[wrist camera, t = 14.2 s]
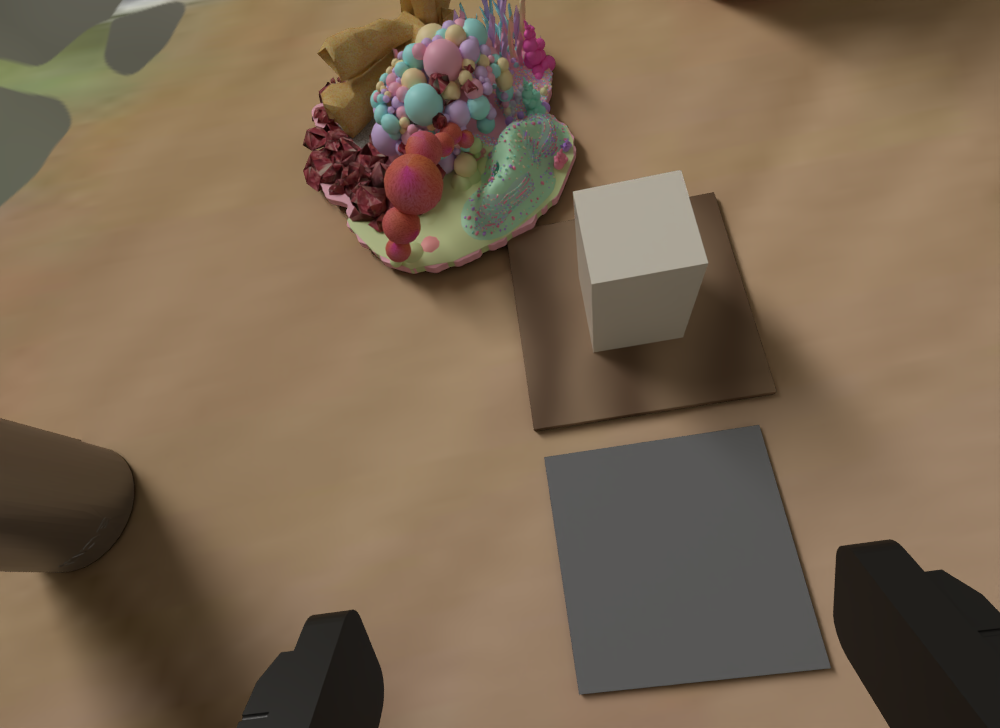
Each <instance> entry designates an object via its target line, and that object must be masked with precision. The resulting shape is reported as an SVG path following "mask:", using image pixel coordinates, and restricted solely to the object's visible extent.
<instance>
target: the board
mask: <svg viewBox="0 0 1000 728" xmlns="http://www.w3.org/2000/svg"><path fill="white" fill-rule="evenodd" d="M689 199H690V202H691V206H692V209H693V213H694V216H695V219H696V223H697V226H698V230H699V233H700V236H701V240H702V243H703V247H704V250H705V254H706V257H707V260H708V265H707V268H706V271H705V274H704V277H703V280H702V283H701V286H700V289H699V292H698V295H697V298H696V301H695V304H694V306H693V309H692V312H691V315H690V318H689V321H688V324H687V327H686V330H685V333H684V336H683V338H677V339H671V340H665V341H659V342H653V343H647V344H641V345H635V346H629V347H623V348H617V349H611V350H605V351H599V352H594V353H593V348H592V343H591V337H590V332H589V327H588V322H587V317H586V311H585V306H584V301H583V296H582V291H581V285H580V280H579V273H578V258H577V244H576V229H575V219H574V220H569V221H563V222H558V223H553V224H548V225H543V226H538V227H533V228H532V229H530V230H528V231H526V232H524V233H522V234H519V235H518V236H516V237H514V238H511V239H510V240H509V241H508V242H507V244H508V251H509V258H510V265H511V272H512V279H513V286H514V293H515V300H516V307H517V314H518V321H519V328H520V335H521V342H522V349H523V356H524V363H525V370H526V377H527V384H528V391H529V398H530V405H531V412H532V419H533V426H534V431H541V430H547V429H554V428H560V427H567V426H573V425H579V424H586V423H592V422H599V421H605V420H612V419H618V418H624V417H631V416H637V415H644V414H650V413H656V412H663V411H669V410H676V409H682V408H689V407H695V406H701V405H708V404H714V403H721V402H727V401H734V400H740V399H746V398H753V397H759V396H766V395H772V394H775V393H776V388H775V385H774V382H773V378H772V375H771V372H770V369H769V366H768V363H767V359H766V356H765V353H764V350H763V347H762V343H761V340H760V337H759V334H758V331H757V327H756V324H755V321H754V318H753V315H752V312H751V308H750V305H749V302H748V299H747V296H746V292H745V289H744V286H743V283H742V280H741V277H740V273H739V270H738V267H737V264H736V261H735V257H734V254H733V251H732V248H731V245H730V242H729V238H728V235H727V232H726V229H725V226H724V222H723V219H722V216H721V213H720V210H719V207H718V203H717V200H716V197H715V194H714V192H712V193H707V194H702V195H697V196H692V197H689Z"/></svg>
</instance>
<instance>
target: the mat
mask: <svg viewBox="0 0 1000 728" xmlns="http://www.w3.org/2000/svg"><path fill="white" fill-rule="evenodd" d="M544 459H545V466H546V472H547V479H548V486H549V493H550V500H551V506H552V513H553V520H554V527H555V534H556V540H557V547H558V554H559V561H560V568H561V574H562V581H563V588H564V595H565V602H566V608H567V615H568V622H569V629H570V636H571V642H572V649H573V656H574V663H575V670H576V676H577V683H578V690H579V694H588V693H598V692H607V691H617V690H627V689H636V688H646V687H655V686H665V685H674V684H684V683H693V682H703V681H712V680H722V679H732V678H741V677H751V676H760V675H770V674H779V673H789V672H798V671H808V670H817V669H827V668H831V667H830V663H829V660H828V656H827V653H826V650H825V646H824V643H823V640H822V636H821V633H820V629H819V626H818V623H817V619H816V616H815V612H814V609H813V606H812V602H811V599H810V595H809V592H808V589H807V585H806V582H805V579H804V575H803V572H802V568H801V565H800V562H799V558H798V555H797V551H796V548H795V545H794V541H793V538H792V535H791V531H790V528H789V524H788V521H787V518H786V514H785V511H784V507H783V504H782V501H781V497H780V494H779V490H778V487H777V484H776V480H775V477H774V474H773V470H772V467H771V463H770V460H769V457H768V453H767V450H766V446H765V443H764V440H763V436H762V433H761V430H760V426H759V425H755V426H749V427H742V428H735V429H729V430H722V431H716V432H709V433H702V434H696V435H689V436H682V437H676V438H669V439H662V440H656V441H649V442H642V443H636V444H629V445H623V446H616V447H609V448H603V449H596V450H589V451H583V452H576V453H569V454H563V455H556V456H549V457H544Z"/></svg>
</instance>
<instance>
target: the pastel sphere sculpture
mask: <svg viewBox="0 0 1000 728" xmlns="http://www.w3.org/2000/svg"><path fill="white" fill-rule="evenodd" d="M492 1H493V0H489V7H490V12H489V8H488V4H487V0H482V3H483V5H484V11H483V10H482V9H481V8H480V9H481V12H482V14H483V16H484V18H485V19H484V18H483V17H482V18H483V20H484V22H485V24H486V28H485V26H484V25H483V24H482V23H481V22H480V21H479V20H477V14H476V19H473V18H468V19H467V17H466V14H465V12H464V9H463V7H462V5H461V3H460V4H459V6H460V17H459V18H458V15H457V13H456V11H455V9H454V10H450V9H448V8H449V4H450V0H400V4H401V12H402V13H401V15H400V16H399V17H398V18H397V19H394V20H387V19H382V18H380V19H378V20H376V21H374V22H372V23H370V24H368V25H366V26H363V27H359V28H348V29H346V30H343V31H341V32H339V33H337V34H335V35H332V36H330V37H328V38H327V39H326V41H325V42H324V44H323V45H322V47H321V49H320V50H319V52H318V53H317V54H318V55H319V56H320V57H321V58H322V59H323V60H324V61H325V62H326V63H327V64H328V65H329V66H330V67H331V68H332V69H333V70H334V71H335V72H336V73H337V74H338V76H339V77H338V78H337V80H338V82H339V83H336V82H335V80H334V78H332V79H331V80H330V81H331V83H335V84H330V83H329V82H327V84H326V85H325V87H323V88H322V89H321V90H320V91H319V98H320V102H321V103H320V104H318V105H316V106H315V107H314V108H313V109H312V121H314V122H315V125H316V127H314V128H311V129H308V130H307V131H306V135H305V139H304V143H303V145H304V146H305V147H307V148H308V149H310V150H311V151H312V150H313V151H312V153H311V154H310V156H309V158H308V161H307V163H306V166H305V168H304V170H303V172H304V175H305V179H306V182H307V184H308V185H310V186H311V187H312V188H314V189H315V190H316V191H319V190H321V189H323V192H324V193H325V196H326V198H327V199H328V201H329V202H330V203H331V204H334V205H338V206H343V207H346V208H347V210H346V213H347V215H348V217H349V219H348V220H347V226H348V228H349V229H350V231H351V232H353V233H354V234H355V235H356V236H357V238H358V241H359V242H360V244H361V245H362V246H363V247H364V248H367V249H370V250H371V251H372V252H373V253H374V254H375V255H376V257H378V258H380V259H381V260H382V262H383V263H384V265H386V266H388V267H391V268H394V269H398V270H401V271H405V272H408V273H413V274H416V273H419V272H423V271H428V272H432V273H439V272H441V271H442V270H445V269H447V268H449V267H453V266H458V267H460V266H463V265H464V264H467V263H469V262H471V261H473V260H475V259H478V258H480V257H481V255H482V254H483V253H484V252H486V251H488V250H496V249H498V248H500V247H503V246H505V245H506V244H507V242H508V241H509V240H510V239H511V238H514V237H516V236H518V235H519V234H522V233H524V232H526V231H528V230H530V229H532V228H533V227H534V226H535V224H536V221H537V219H538V218H539V217H540V216H541V215H544V214H545V213H546V212H547V211H548V209H549V208H550V207H551V206H553V205H556V204H557V202H558V200H559V198H560V196H561V194H562V191H563V189H564V187H565V184H566V182H567V179H568V176H569V174H570V171H571V169H572V166H573V164H574V162H575V159H576V148H575V146H574V136H573V135H572V134H571V132H570V130H569V129H568V128H567V127H568V126H566V124H564V123H562V122H559V121H558V120H557V119H556V117H555V116H554V115H551V114H550V113H549V112H550V105H549V101H550V99H551V96H552V85H551V84H552V80H553V79H552V76H553V72H552V70H553V69H554V68H555V64H556V63H555V59H554V58H553V57H552V56H549V55H547V56H546V54H545V51H544V50H543V49H544V47H545V42H544V40H543V39H541V36H540V38H538V39H536V38H535V36H536V33H535V31H534V29H535V28H534V27H533V26H531V25H528V23H527V22H526V21H525V0H520V9H519V11H518V8H517V5H516V8H515V13H514V21H513V16H512V12H511V7H510V3H509V4H508V10H509V21H508V20H507V18H506V16H505V10H506V0H497V3H498V6H497V4H496V3H495V2H494V1H493V3H494V5H495V7H496V8H495V9H496V11H497V13H498V15H499V17H500V23H498V26H497V24H496V23H495V17H494V16H493V7H492ZM479 7H480V6H479ZM484 12H485V13H484ZM519 12H520V14H519ZM453 16H454V17H453ZM489 20H490V21H489ZM488 21H489V24H488ZM501 27H502V30H501ZM525 29H526V31H525ZM514 36H515V37H514ZM513 39H515V44H513V42H514V41H513ZM321 147H324V148H322V149H321V150H319V151H318V150H315V149H318V148H321Z"/></svg>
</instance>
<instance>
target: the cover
mask: <svg viewBox="0 0 1000 728" xmlns="http://www.w3.org/2000/svg"><path fill="white" fill-rule="evenodd" d="M573 200H574V215H575V229H576V244H577V258H578V273H579V280H580V285H581V291H582V296H583V301H584V306H585V311H586V317H587V322H588V327H589V332H590V337H591V343H592V348H593V353H594V352H599V351H605V350H611V349H617V348H623V347H629V346H635V345H641V344H647V343H653V342H659V341H665V340H671V339H677V338H683V336H684V333H685V330H686V327H687V324H688V321H689V318H690V315H691V312H692V309H693V306H694V304H695V301H696V298H697V295H698V292H699V289H700V286H701V283H702V280H703V277H704V274H705V271H706V268H707V265H708V260H707V257H706V254H705V250H704V247H703V243H702V240H701V236H700V233H699V230H698V226H697V223H696V219H695V216H694V213H693V209H692V206H691V202H690V199H689V195H688V192H687V189H686V185H685V182H684V178H683V175H682V171H681V170H678V171H673V172H668V173H663V174H658V175H653V176H648V177H643V178H638V179H633V180H628V181H623V182H618V183H613V184H608V185H603V186H598V187H593V188H588V189H583V190H578V191H573Z"/></svg>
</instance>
